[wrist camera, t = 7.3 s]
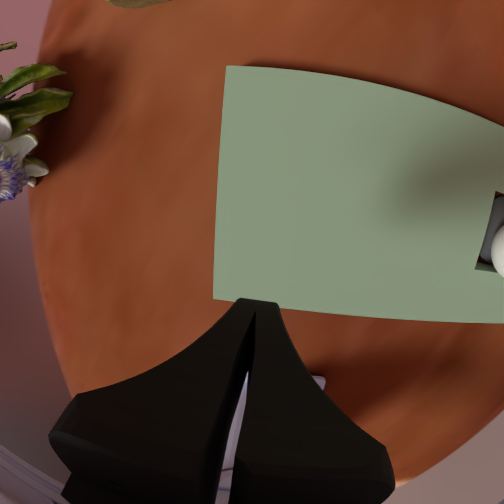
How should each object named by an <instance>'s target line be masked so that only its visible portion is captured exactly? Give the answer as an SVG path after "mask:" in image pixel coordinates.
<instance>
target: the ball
mask: <svg viewBox="0 0 504 504" xmlns="http://www.w3.org/2000/svg"><path fill="white" fill-rule="evenodd" d="M491 258H492V262H493V265H494V267H495V269H496V270H497V272H498V273H499V274H500V275H501V276H502V277H504V226H502V227H501V228H500V229H499V230H498V231H497V232H496V234H495V236H494V238H493V241H492V245H491Z"/></svg>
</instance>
